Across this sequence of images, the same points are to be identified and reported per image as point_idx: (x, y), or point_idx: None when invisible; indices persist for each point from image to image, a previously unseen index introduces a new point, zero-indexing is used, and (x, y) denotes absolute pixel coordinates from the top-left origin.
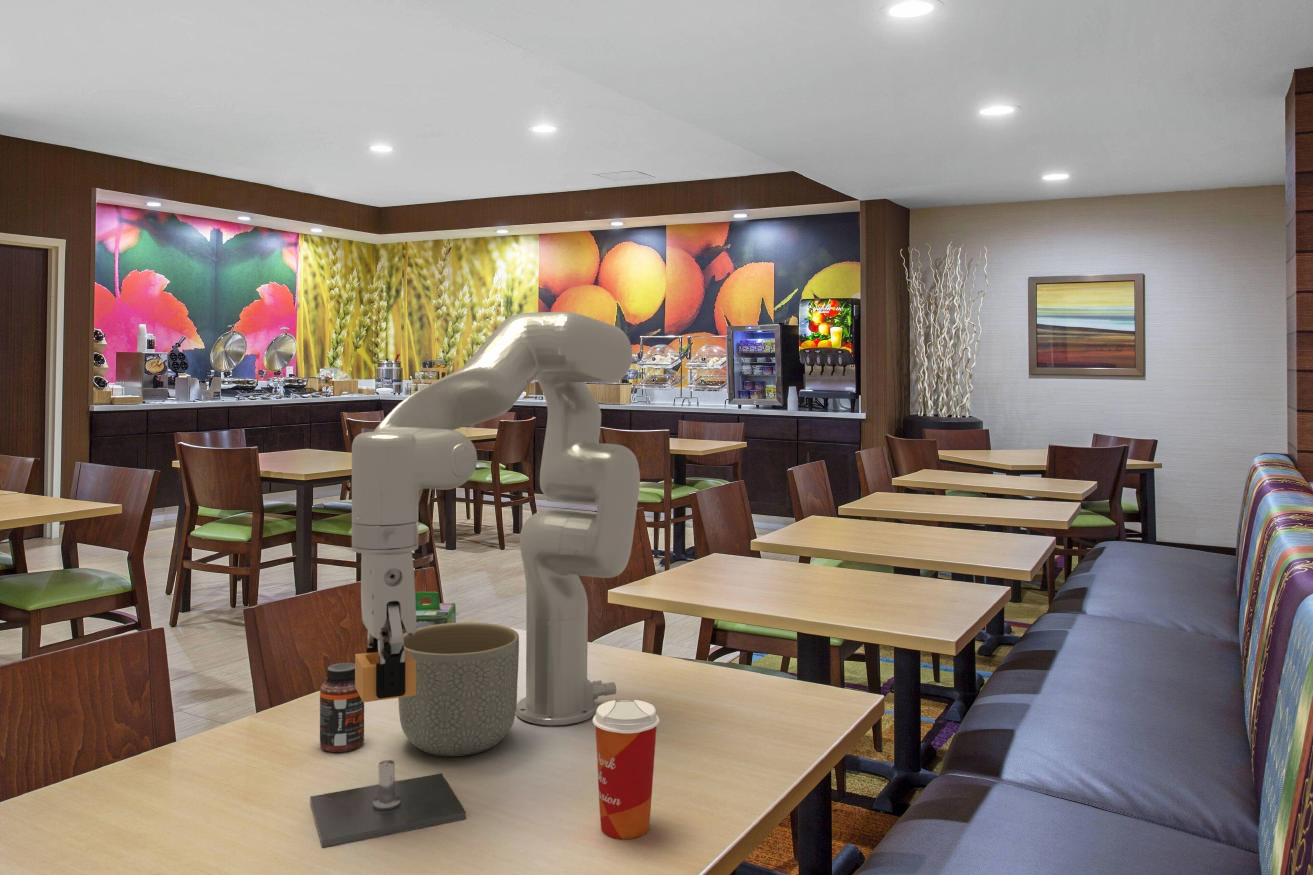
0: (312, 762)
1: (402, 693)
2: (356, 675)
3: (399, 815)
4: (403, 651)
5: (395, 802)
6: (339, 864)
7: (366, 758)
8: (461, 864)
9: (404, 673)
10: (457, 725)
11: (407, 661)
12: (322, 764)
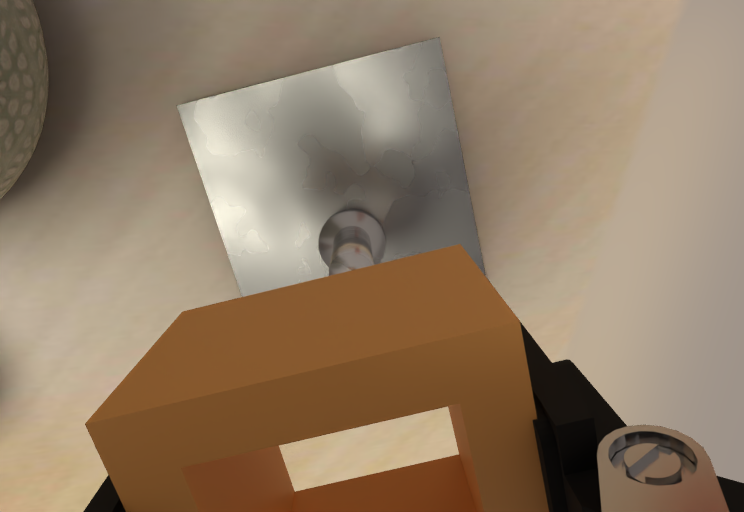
0: (52, 429)
1: None
2: None
3: (421, 208)
4: (720, 503)
5: (369, 222)
6: (575, 310)
7: (28, 311)
8: (660, 55)
9: (552, 369)
10: (13, 43)
11: (493, 389)
12: (66, 406)
